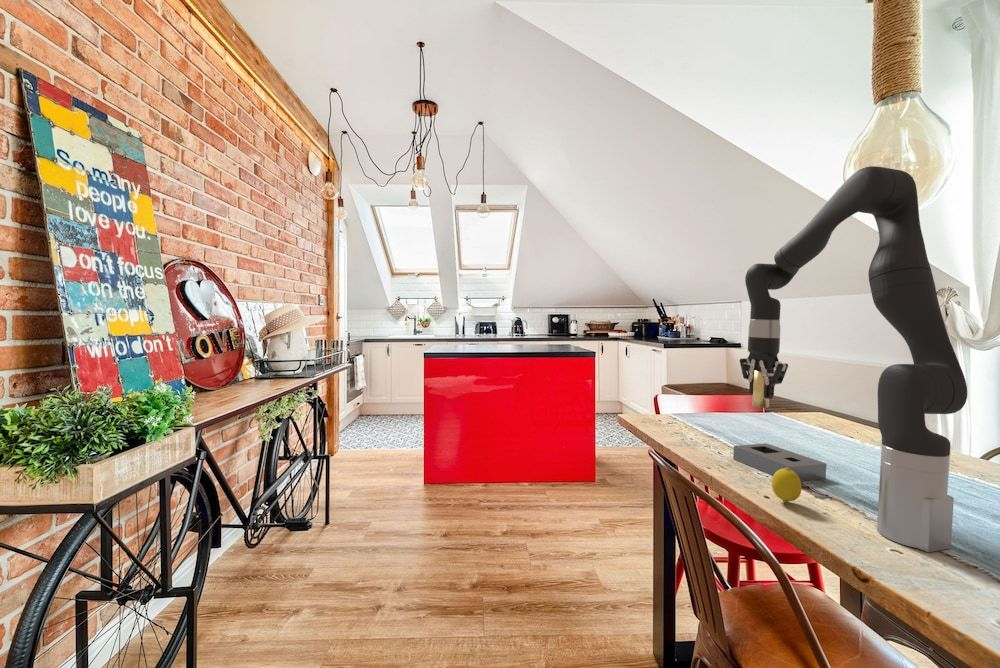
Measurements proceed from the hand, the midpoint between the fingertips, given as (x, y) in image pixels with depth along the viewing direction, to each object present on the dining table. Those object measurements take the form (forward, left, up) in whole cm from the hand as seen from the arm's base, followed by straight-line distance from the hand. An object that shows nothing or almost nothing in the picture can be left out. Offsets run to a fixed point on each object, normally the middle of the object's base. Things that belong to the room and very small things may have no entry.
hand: (760, 396), depth 119 cm
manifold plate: (-3, -3, -20) cm, 20 cm away
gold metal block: (0, 0, -3) cm, 3 cm away
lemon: (-21, +15, -20) cm, 33 cm away
